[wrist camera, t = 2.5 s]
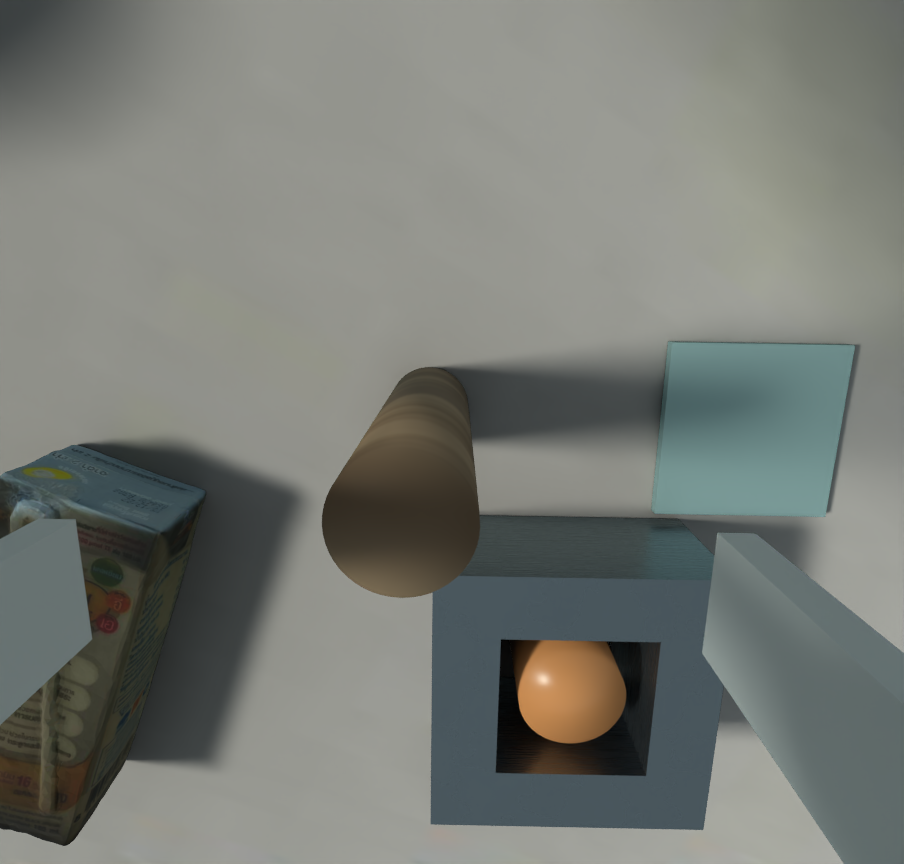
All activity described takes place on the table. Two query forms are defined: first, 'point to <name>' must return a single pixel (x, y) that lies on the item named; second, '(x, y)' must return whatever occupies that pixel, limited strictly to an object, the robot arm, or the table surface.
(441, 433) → the brown rounded rod
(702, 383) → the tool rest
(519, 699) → the button
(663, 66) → the table surface
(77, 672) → the beverage carton
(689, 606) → the box
